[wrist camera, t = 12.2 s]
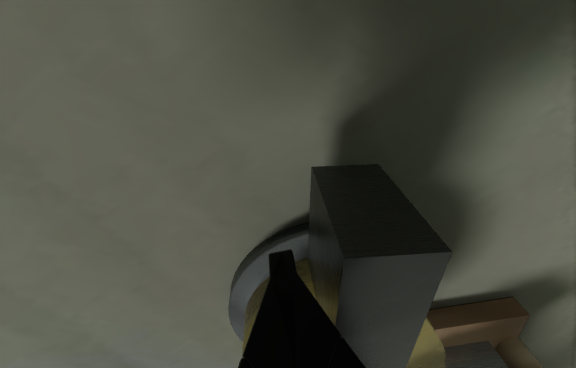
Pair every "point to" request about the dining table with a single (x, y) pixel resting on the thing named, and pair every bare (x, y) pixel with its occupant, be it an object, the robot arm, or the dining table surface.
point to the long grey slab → (473, 356)
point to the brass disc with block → (370, 267)
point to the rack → (486, 328)
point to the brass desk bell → (262, 270)
